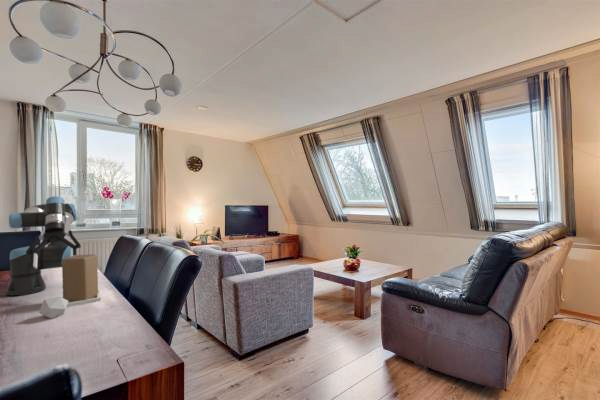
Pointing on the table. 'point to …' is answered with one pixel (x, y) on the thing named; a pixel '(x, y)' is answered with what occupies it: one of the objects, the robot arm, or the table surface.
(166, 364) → the table surface
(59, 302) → the die
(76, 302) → the base frame
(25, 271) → the robot arm
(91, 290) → the wooden block
